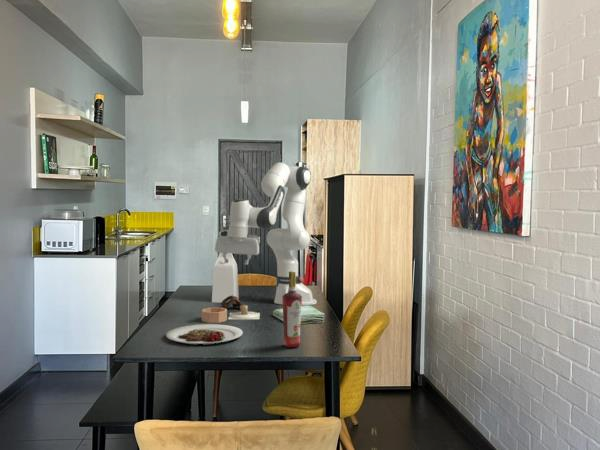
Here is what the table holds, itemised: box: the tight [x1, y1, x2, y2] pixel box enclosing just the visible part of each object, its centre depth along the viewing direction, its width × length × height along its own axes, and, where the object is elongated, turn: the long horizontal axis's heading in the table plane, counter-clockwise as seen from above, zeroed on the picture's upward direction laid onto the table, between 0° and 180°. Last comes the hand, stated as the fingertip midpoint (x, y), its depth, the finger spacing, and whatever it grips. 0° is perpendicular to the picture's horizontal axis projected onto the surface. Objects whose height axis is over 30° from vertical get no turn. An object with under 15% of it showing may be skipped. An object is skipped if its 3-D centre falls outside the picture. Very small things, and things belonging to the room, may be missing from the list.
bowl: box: [201, 307, 228, 324], centre depth 252 cm, size 11×11×5 cm
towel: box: [272, 305, 326, 325], centre depth 257 cm, size 18×21×5 cm
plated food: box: [165, 323, 244, 345], centre depth 224 cm, size 30×30×3 cm
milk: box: [211, 252, 240, 303], centre depth 301 cm, size 12×12×26 cm
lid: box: [229, 304, 259, 320], centre depth 260 cm, size 13×13×5 cm
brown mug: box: [220, 295, 242, 311], centre depth 277 cm, size 12×10×8 cm
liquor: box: [282, 271, 303, 349], centre depth 210 cm, size 7×7×28 cm
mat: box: [227, 312, 261, 320], centre depth 261 cm, size 14×14×1 cm
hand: (236, 263), depth 259 cm, fingers open, 8 cm apart
